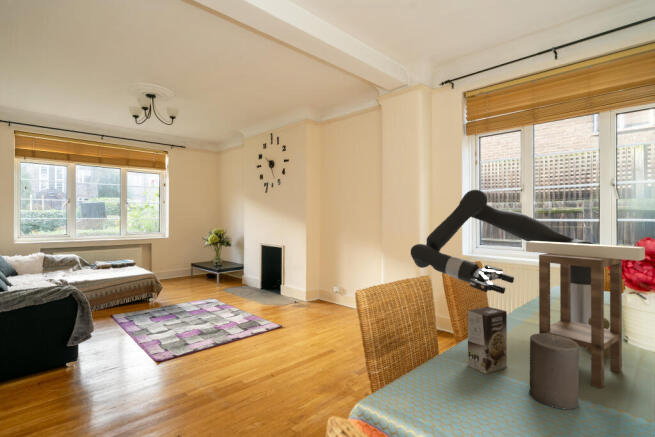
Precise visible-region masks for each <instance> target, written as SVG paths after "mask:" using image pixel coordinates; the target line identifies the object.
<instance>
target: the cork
mask: <svg viewBox="0 0 655 437" xmlns="http://www.w3.org/2000/svg"><path fill="white" fill-rule="evenodd" d="M588 323H589V325H591V317H590V318H589V320H588ZM604 328H605V329H610V320H608V319H607V318H605V317H604ZM586 351H587V353H589V354H591V349H589V348H586ZM605 357H606V358H607V357H608V358H609V357H610V346H609V347H607V348H606V349H604V358H605Z"/></svg>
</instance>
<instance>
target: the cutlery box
mask: <svg viewBox="0 0 655 437" xmlns="http://www.w3.org/2000/svg"><path fill="white" fill-rule="evenodd" d="M525 252H528V253H541V254H547V253H550V254H563V255H575V256H588V257H600V258H612V259H622V260H627V261H639V262H640V261H643V260H645V259H646V248H645V246H632V245H631V246H630V245H629V246H628V245H611V244H595V243H593V244H579V243H561V242H542V241H525Z"/></svg>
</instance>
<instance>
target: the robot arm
mask: <svg viewBox="0 0 655 437" xmlns="http://www.w3.org/2000/svg"><path fill="white" fill-rule="evenodd" d="M470 218H472V219H475V220H478V221H481V222H484V223H487V224H489V225H491V226H493V227H495V228H498V229H500V230H502V231H504V232H506V233H508V234H510V235H512V236H514V237H517V238H519V239H520V240H523V241H525V242H528V241H542V242H561V243H579V244H594V243H592V242H591V241H587V240H584V239H577V238H574V237H571V236H568V235H564V234H563V233H559V232H558V231H555V230H553V229H552V228H551V227H549V226H548V225H546V224H545V223H544V222H541V221H540V220H538V219H536V218H533V217H531V216H529V215H527V214H524V213H522V212H518V211H512V210H505V209H499V208H496V207H493V206H491V205H489V204H488V197H487V195H486V193H485V192H484V191H483V190H481V189H471V190H469V191H467V192H466V193H465V194H464V195H463V197H462V198H461V199H460V201H459V203H458V206H456V207H455V209H454V210H453V211H452V212H451V213H450V214H449V215H448V216H447V217H446V218H445V219H444V220H443V221H442V222H441V223H440V224H439V225H438V226H436V228H434V230H432V232H430V233H429V235H428V236H426V244H423V243H417V244H415V245H413V246H412V247H411V249H410V256H411V258H412V260H413V262H414V264H415V265H416V266H417V267H418V268H422V269H424V268H427V267H429V266H431V267H432V269H434V270H435V271H437V272H439V273H442V274H445V275H447V276H449V277H450V278H451V277H452V278H454V279H457V280H460V281H462V282H465V283H468V284H469V287H471V288H473V289H477V290H479V291H482V292H484V293H487V292H488V291H490V292H491V291H493V292H496V293H499V294H505V292H506V287H505V286H502V285H499V284H496V283H493V282H492V281H495V280H501V281H504V282H507V283H510V284H513V283H514V282H515V277H514V276H512V275H509V274H506V273H504V270H503V269H502V268H499V267H495V266H492V265H488V264H486V265H484V267H483V268H481V267H480V266H479V264H478V263H477V262H473V261H470V260H467V259H464V258H461V257H456V256H452V255H449V254H446V253H443V252H441V249H442V248H444V246H445V245H446V244H447V243H448V242H449V241H450V240H451V239H452V238H453V237H454V236H455V235H456V233H457V232H458V231H459V230H460V228H462V226H463V225H464V224H465V223H466V222H467V221H469V219H470ZM590 317H591V267H584V266H574V265H571V321H573V322H578V323H582V324H587V325H589V323H588V320H589V318H590Z"/></svg>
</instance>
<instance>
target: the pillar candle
mask: <svg viewBox="0 0 655 437" xmlns="http://www.w3.org/2000/svg"><path fill="white" fill-rule="evenodd" d="M579 354H580V346H579V345H578V344H577V343H576V342H574V341H573V340H571V339H569V338H565V337H562V336H558V335H553V334H543V333H540V334H539V333H533V334H531V335H530V337H529V390H528V393H529V395H530V396H531V398H533V399H534V400H535V401H536V402H539V403H540V402H541V404H543V405H545V404H546V405H545V406H547V405H549V406H548V407H550V406H553V407H552V408H554V407H557V408H556V409H558V408H566V409H565V410H573V409H576V408H577V407H578V405H579V373H580V372H579V370H580V369H579V368H580V366H579V364H580V363H579V362H580V360H579V357H580V356H579ZM575 407H576V408H575ZM572 408H573V409H572Z"/></svg>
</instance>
